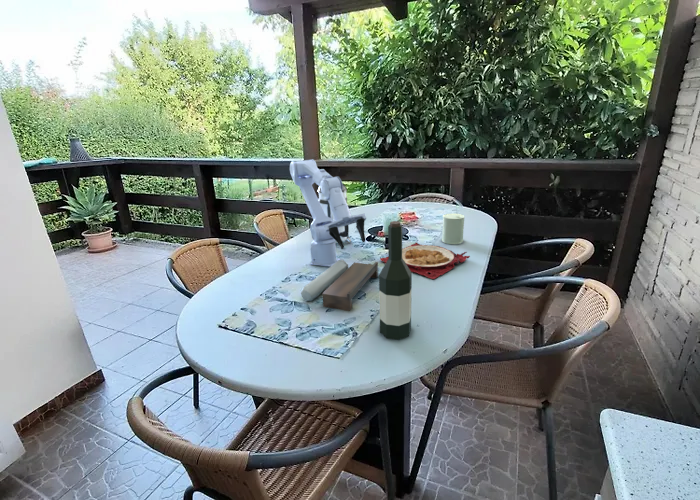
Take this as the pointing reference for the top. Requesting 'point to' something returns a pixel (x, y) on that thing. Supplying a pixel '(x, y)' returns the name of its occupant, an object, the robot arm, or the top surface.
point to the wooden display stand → (348, 286)
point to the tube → (323, 280)
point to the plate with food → (429, 259)
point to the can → (453, 228)
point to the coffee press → (329, 213)
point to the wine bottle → (395, 289)
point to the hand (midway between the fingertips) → (353, 244)
